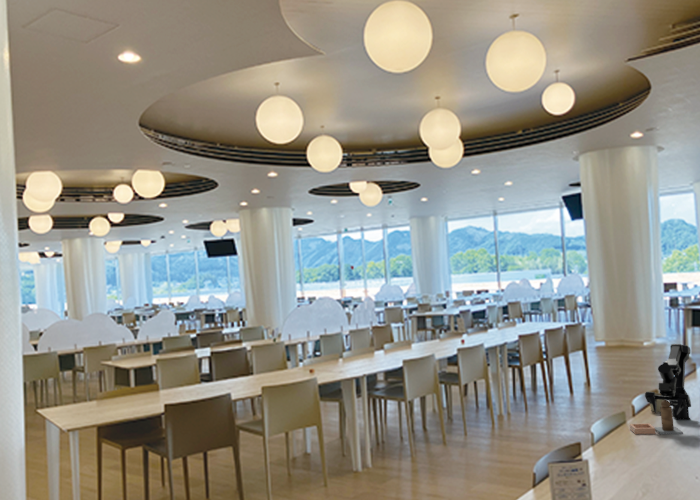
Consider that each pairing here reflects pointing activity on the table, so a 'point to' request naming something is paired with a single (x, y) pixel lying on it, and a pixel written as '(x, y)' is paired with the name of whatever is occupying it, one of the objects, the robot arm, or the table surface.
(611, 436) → the table surface
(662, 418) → the pepper mill
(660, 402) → the flower pot
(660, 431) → the plate
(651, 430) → the pink square tray
